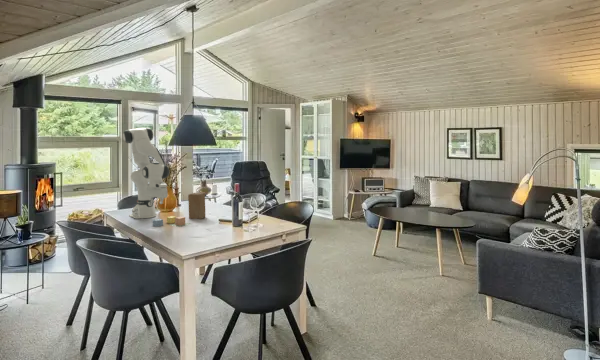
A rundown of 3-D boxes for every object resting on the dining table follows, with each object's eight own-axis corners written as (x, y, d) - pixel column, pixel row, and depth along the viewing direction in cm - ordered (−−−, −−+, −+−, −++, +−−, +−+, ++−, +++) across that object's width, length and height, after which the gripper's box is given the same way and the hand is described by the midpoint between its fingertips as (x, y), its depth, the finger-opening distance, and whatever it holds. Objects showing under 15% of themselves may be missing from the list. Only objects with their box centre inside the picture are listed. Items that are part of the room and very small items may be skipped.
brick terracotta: (175, 224, 271) (175, 217, 271) (180, 223, 275) (180, 216, 275) (179, 225, 269) (179, 218, 268) (185, 224, 273) (185, 217, 272)
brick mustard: (166, 223, 278) (166, 217, 278) (172, 222, 282) (172, 216, 282) (171, 224, 275) (170, 217, 275) (176, 223, 280) (176, 216, 279)
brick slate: (152, 226, 268) (152, 220, 268) (158, 225, 272) (158, 218, 272) (157, 227, 265) (156, 220, 265) (163, 226, 270) (162, 219, 269)
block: (200, 219, 291) (199, 194, 289) (188, 219, 293) (187, 194, 291) (206, 217, 301) (205, 192, 299) (194, 216, 303) (193, 192, 301)
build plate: (168, 226, 270) (168, 224, 270) (181, 222, 280) (181, 221, 280) (179, 228, 264) (179, 227, 264) (192, 224, 274) (192, 223, 274)
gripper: (143, 183, 269) (144, 202, 270) (161, 185, 258) (162, 205, 259) (150, 183, 274) (151, 201, 275) (168, 184, 263) (169, 203, 264)
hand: (156, 203), depth 267 cm, fingers open, 8 cm apart
